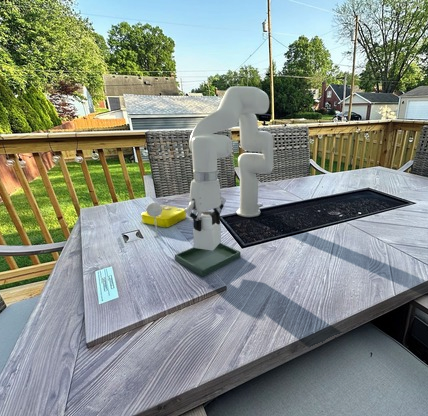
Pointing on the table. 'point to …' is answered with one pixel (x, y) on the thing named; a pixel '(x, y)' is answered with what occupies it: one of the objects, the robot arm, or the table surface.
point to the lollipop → (154, 211)
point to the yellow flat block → (165, 216)
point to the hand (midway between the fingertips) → (207, 226)
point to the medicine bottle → (207, 232)
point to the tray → (207, 258)
